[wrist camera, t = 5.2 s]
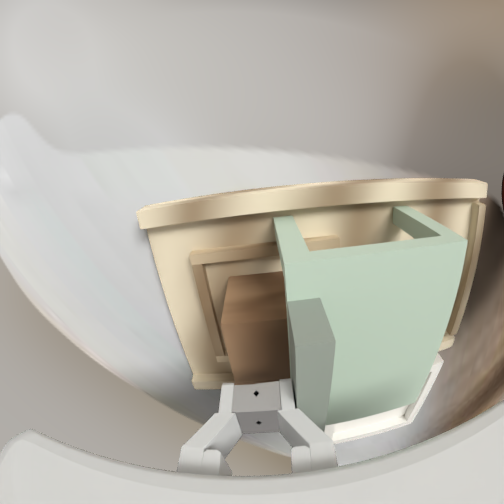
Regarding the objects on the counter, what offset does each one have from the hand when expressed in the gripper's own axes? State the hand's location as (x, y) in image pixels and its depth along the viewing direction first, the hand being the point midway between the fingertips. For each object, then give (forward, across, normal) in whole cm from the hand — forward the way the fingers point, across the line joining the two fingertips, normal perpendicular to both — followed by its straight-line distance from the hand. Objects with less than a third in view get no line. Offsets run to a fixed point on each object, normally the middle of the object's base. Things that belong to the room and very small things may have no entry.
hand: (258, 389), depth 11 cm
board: (+7, -5, 0) cm, 9 cm away
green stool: (+6, -5, 0) cm, 8 cm away
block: (+7, -1, 0) cm, 7 cm away
